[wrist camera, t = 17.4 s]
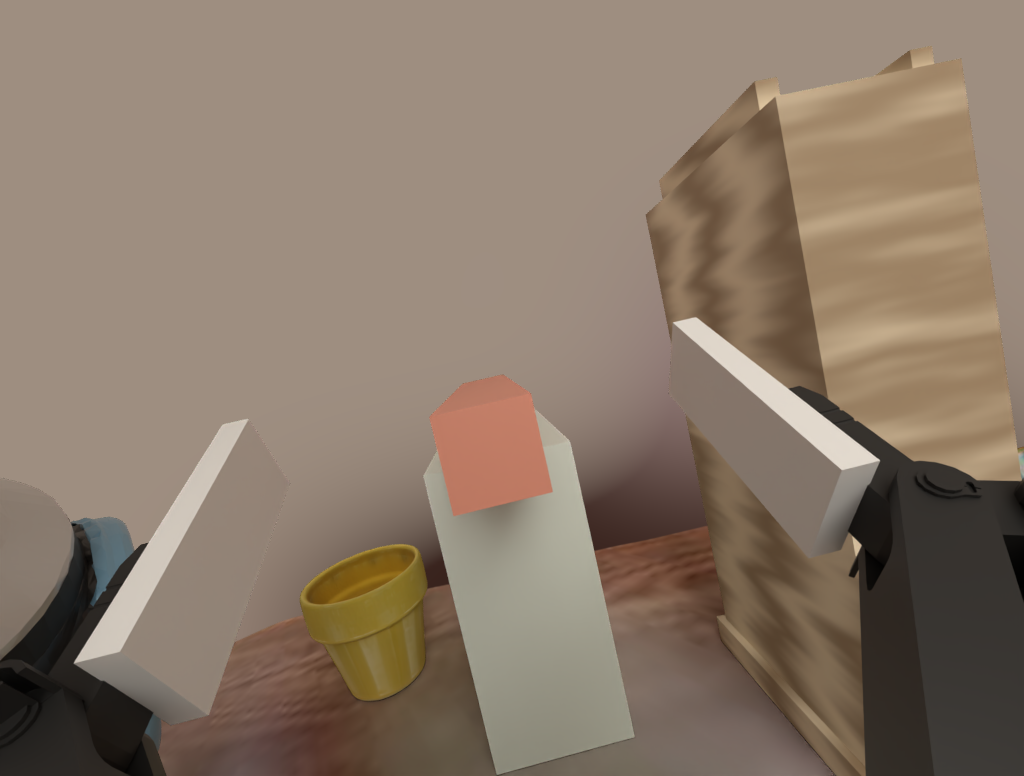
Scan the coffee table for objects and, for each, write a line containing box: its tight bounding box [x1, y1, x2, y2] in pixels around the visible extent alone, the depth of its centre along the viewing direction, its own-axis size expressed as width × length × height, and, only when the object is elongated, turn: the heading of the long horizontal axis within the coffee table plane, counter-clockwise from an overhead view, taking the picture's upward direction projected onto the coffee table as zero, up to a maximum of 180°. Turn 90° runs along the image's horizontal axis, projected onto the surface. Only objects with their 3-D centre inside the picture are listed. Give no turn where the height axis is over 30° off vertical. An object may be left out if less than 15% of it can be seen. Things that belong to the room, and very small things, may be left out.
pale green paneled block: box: [423, 409, 635, 775], centre depth 36 cm, size 18×9×20 cm, turn 4°
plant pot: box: [300, 544, 427, 701], centre depth 39 cm, size 10×10×10 cm
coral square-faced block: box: [430, 375, 553, 516], centre depth 30 cm, size 26×4×4 cm, turn 4°
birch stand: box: [646, 46, 1022, 776], centre depth 26 cm, size 15×9×34 cm, turn 4°
